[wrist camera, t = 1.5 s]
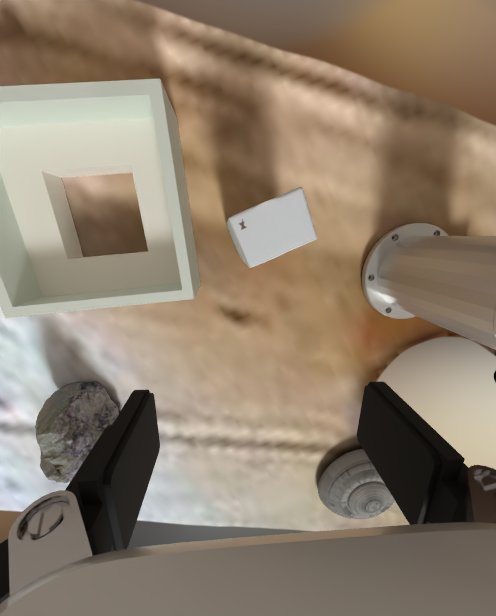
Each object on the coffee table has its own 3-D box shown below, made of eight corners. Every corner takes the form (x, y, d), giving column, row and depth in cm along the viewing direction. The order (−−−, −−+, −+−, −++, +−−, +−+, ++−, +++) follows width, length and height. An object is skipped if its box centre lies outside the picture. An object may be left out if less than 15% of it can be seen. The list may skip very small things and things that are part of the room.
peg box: (177, 118, 26) (160, 78, 19) (200, 285, 31) (194, 298, 24) (-2, 129, 25) (-86, 90, 18) (54, 299, 30) (5, 318, 23)
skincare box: (239, 257, 31) (247, 270, 19) (225, 223, 29) (225, 216, 18) (284, 237, 30) (319, 239, 19) (272, 203, 29) (302, 183, 18)
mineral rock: (126, 458, 38) (93, 533, 28) (52, 446, 36) (-11, 522, 27) (142, 388, 35) (111, 447, 25) (62, 371, 33) (-6, 428, 23)
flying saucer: (408, 480, 45) (431, 512, 40) (337, 517, 46) (351, 553, 41) (377, 426, 41) (400, 455, 36) (300, 469, 42) (311, 502, 37)
